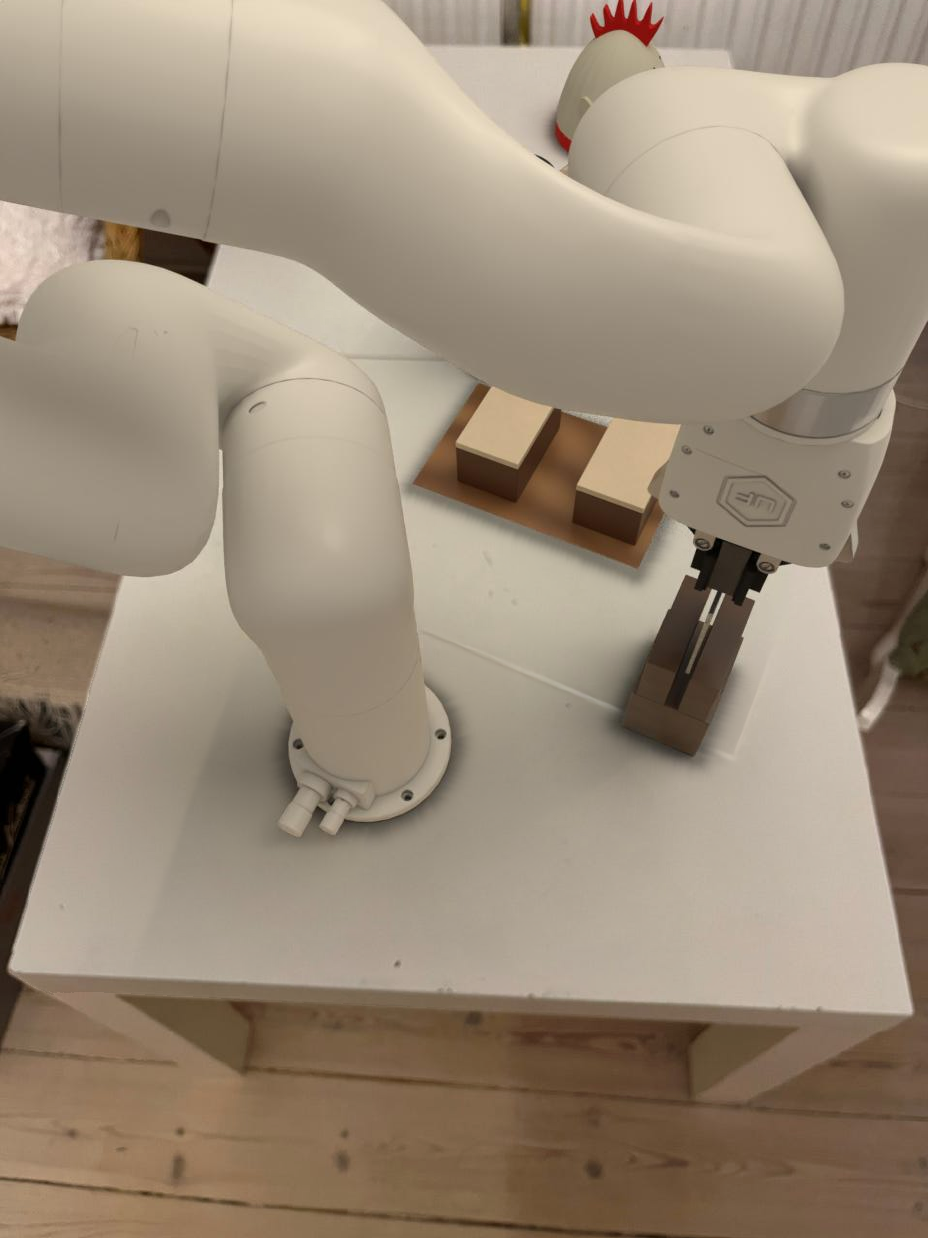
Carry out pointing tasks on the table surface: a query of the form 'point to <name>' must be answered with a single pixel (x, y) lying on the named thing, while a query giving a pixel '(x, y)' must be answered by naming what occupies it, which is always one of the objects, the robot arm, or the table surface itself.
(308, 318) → the table surface
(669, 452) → the cake slice
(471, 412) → the cake board
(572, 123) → the kitchen timer
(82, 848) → the table surface
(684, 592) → the knife block
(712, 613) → the knife
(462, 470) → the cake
